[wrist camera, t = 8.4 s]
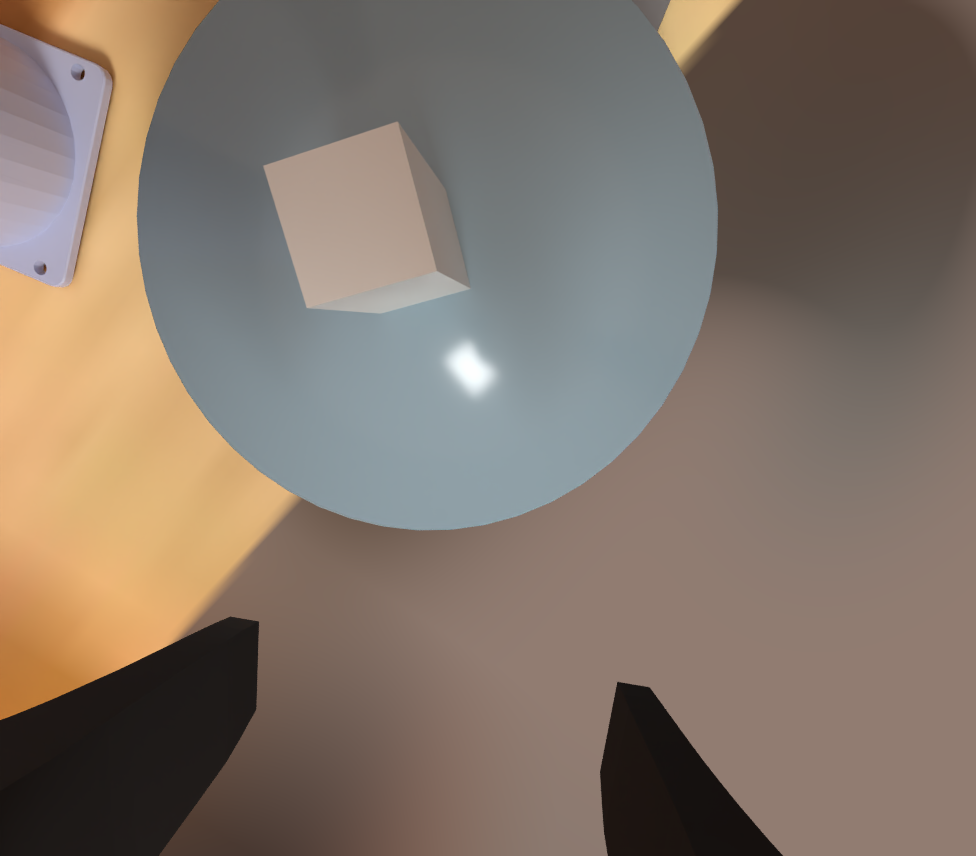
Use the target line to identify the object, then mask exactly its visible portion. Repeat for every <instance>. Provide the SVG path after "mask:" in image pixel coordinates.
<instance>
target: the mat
mask: <svg viewBox="0 0 976 856" xmlns="http://www.w3.org/2000/svg"><path fill="white" fill-rule="evenodd" d="M632 1H633V2H634V3H635V4H636V5H637V6H638V7H639V9H640V10H641V11H642V13H643V14H644V15H645V17H646V18H647V19H648V21H649V22H650V23H651V24H652V26H653V27H654V28H655V30H656V31H658V29H659V26H660V24H661V22H662V19H663V17H664V14H665V12H666V9H667V7H668V5H669V2H670V0H632Z"/></svg>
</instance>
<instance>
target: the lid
mask: <svg viewBox="0 0 976 856" xmlns="http://www.w3.org/2000/svg"><path fill="white" fill-rule="evenodd" d="M717 222H718V206H717V196H716V187H715V178H714V168H713V162H712V158H711V154H710V150H709V146H708V142H707V138H706V133H705V130H704V125H703V122H702V119H701V117H700V114H699V111H698V109H697V106H696V104H695V101H694V98H693V96H692V93H691V91H690V88H689V86H688V83H687V81H686V79H685V77H684V75H683V74H682V72H681V70H680V68H679V66H678V65H677V63H676V61H675V59H674V57H673V56H672V54H671V52H670V50H669V48H668V47H667V45H666V43H665V42H664V40H663V39H662V38H661V36H660V35H659V34H658V32H657V31H656V30H655V28H654V27H653V26H652V24H651V23H650V22H649V21H648V19H647V18H646V17H645V15H644V14H643V13H642V11H641V10H640V9H639V7H638V6H637V5H636V4H635V3H634V2H633V1H632V0H219V1H218V3H217V4H216V5H215V6H214V7H213V9H212V10H211V11H210V12H209V13H208V15H207V16H206V17H205V18H204V20H203V21H202V22H201V23H200V24H199V26H198V27H197V28H196V30H195V31H194V33H193V34H192V36H191V38H190V39H189V41H188V42H187V44H186V46H185V47H184V49H183V51H182V52H181V54H180V55H179V57H178V59H177V60H176V62H175V64H174V66H173V68H172V70H171V72H170V75H169V77H168V79H167V81H166V83H165V86H164V88H163V90H162V92H161V94H160V97H159V99H158V102H157V105H156V108H155V112H154V115H153V118H152V121H151V124H150V128H149V131H148V134H147V137H146V142H145V148H144V154H143V159H142V165H141V170H140V176H139V190H138V207H137V225H138V243H139V256H140V262H141V268H142V274H143V279H144V285H145V291H146V295H147V298H148V301H149V305H150V308H151V312H152V315H153V318H154V322H155V325H156V328H157V331H158V333H159V336H160V338H161V340H162V343H163V345H164V347H165V350H166V352H167V355H168V357H169V359H170V362H171V363H172V365H173V367H174V369H175V371H176V372H177V374H178V376H179V378H180V379H181V381H182V383H183V385H184V387H185V388H186V390H187V392H188V394H189V395H190V396H191V398H192V399H193V401H194V402H195V403H196V405H197V406H198V407H199V409H200V410H201V412H202V413H203V414H204V416H205V417H206V419H207V420H208V421H209V423H210V424H211V425H212V426H213V427H214V428H215V429H216V430H217V431H218V432H219V434H220V435H221V436H222V437H223V438H224V439H225V440H226V441H227V442H228V443H229V444H230V446H231V447H232V448H233V449H234V450H235V451H237V452H238V453H239V454H240V455H241V456H242V457H244V458H245V459H246V460H247V461H248V462H249V463H250V464H252V465H253V466H254V467H255V468H256V469H257V470H259V471H260V472H261V473H263V474H264V475H266V476H267V477H269V478H270V479H272V480H273V481H274V482H276V483H277V484H279V485H280V486H282V487H283V488H285V489H286V490H288V491H289V492H291V493H293V494H295V495H297V496H299V497H301V498H303V499H305V500H307V501H309V502H311V503H313V504H315V505H317V506H318V507H321V508H324V509H327V510H329V511H332V512H335V513H337V514H340V515H343V516H345V517H348V518H351V519H355V520H359V521H363V522H367V523H372V524H376V525H380V526H385V527H395V528H403V529H412V530H452V529H459V528H466V527H473V526H480V525H486V524H490V523H493V522H497V521H501V520H505V519H508V518H512V517H515V516H519V515H521V514H524V513H526V512H528V511H531V510H533V509H536V508H538V507H541V506H543V505H545V504H548V503H550V502H552V501H554V500H556V499H557V498H559V497H561V496H563V495H564V494H566V493H568V492H570V491H571V490H573V489H575V488H576V487H578V486H580V485H582V484H583V483H584V482H586V481H587V480H588V479H590V478H591V477H592V476H594V475H595V474H596V473H598V472H599V471H600V470H601V469H603V468H604V467H605V466H607V465H608V464H609V463H611V462H612V461H613V460H614V459H615V458H616V457H617V456H618V455H619V454H620V453H621V452H622V451H623V450H624V449H625V448H626V447H627V446H628V445H629V444H630V443H631V442H632V441H633V440H634V439H635V438H636V437H637V436H638V435H639V434H640V433H641V432H642V430H643V429H644V428H645V426H646V425H647V424H648V423H649V421H650V420H651V419H652V417H653V416H654V415H655V414H656V412H657V411H658V410H659V408H660V407H661V406H662V405H663V403H664V401H665V399H666V398H667V396H668V395H669V393H670V391H671V390H672V388H673V386H674V384H675V383H676V381H677V379H678V378H679V376H680V374H681V373H682V371H683V369H684V366H685V364H686V362H687V360H688V357H689V355H690V353H691V350H692V348H693V346H694V343H695V341H696V339H697V336H698V334H699V330H700V328H701V324H702V321H703V317H704V314H705V310H706V307H707V303H708V300H709V296H710V292H711V286H712V280H713V272H714V267H715V260H716V254H717Z"/></svg>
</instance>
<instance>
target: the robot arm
mask: <svg viewBox="0 0 976 856" xmlns="http://www.w3.org/2000/svg"><path fill="white" fill-rule="evenodd" d="M83 70H85V76H84V78H83V79H82V80H81V73H82V71H83ZM111 91H112V78H111V75H110V74H109V72H108V71H107V70H106V69H104V68H103V67H101V66H99V65H98V64H96V63H94V62H91V61H89V60H86V59H84V58H82V57H79V56H77V55H74V54H72V53H69V52H67V51H65V50H62V49H60V48H57V47H55V46H52V45H50V44H48V43H45V42H43V41H40V40H38V39H35V38H33V37H31V36H28V35H26V34H23V33H21V32H18V31H16V30H14V29H11V28H9V27H6V26H4V25H1V24H0V265H2V266H5V267H7V268H10V269H12V270H14V271H17V272H19V273H22V274H24V275H26V276H29V277H31V278H34V279H36V280H38V281H41V282H43V283H45V284H48V285H50V286H54V287H66V286H68V285H69V284H70V283H71V281H72V279H73V275H74V270H75V265H76V260H77V255H78V250H79V246H80V241H81V236H82V231H83V226H84V221H85V217H86V212H87V207H88V202H89V197H90V193H91V188H92V183H93V178H94V173H95V168H96V164H97V159H98V154H99V149H100V144H101V139H102V135H103V130H104V125H105V120H106V115H107V111H108V106H109V101H110V96H111ZM44 264H45V265H46V267H47V271H46V273H45V271H44ZM258 634H259V622H258V621H252V620H247V619H241V618H235V617H229V618H226V619H224V620H221V621H219V622H217V623H214V624H213V625H210V626H208V627H206V628H204V629H202V630H200V631H198V632H195V633H193V634H191V635H189V636H187V637H185V638H183V639H181V640H179V641H177V642H175V643H173V644H171V645H169V646H167V647H165V648H163V649H161V650H159V651H157V652H154V653H152V654H150V655H148V656H146V657H144V658H142V659H140V660H138V661H136V662H134V663H132V664H130V665H128V666H126V667H124V668H121V669H119V670H117V671H115V672H113V673H111V674H108V675H106V676H104V677H102V678H99V679H97V680H95V681H93V682H90V683H88V684H86V685H84V686H81V687H79V688H77V689H75V690H73V691H70V692H68V693H66V694H64V695H61V696H59V697H57V698H55V699H52V700H50V701H48V702H45V703H43V704H40V705H38V706H36V707H33V708H31V709H28V710H26V711H23V712H21V713H18V714H16V715H13V716H10V717H8V718H5V719H2V720H0V856H159V854H160V853H161V852H162V850H163V849H164V847H165V846H166V845H167V843H168V842H169V841H170V839H171V838H172V837H173V835H174V834H175V832H176V831H177V830H178V828H179V827H180V826H181V824H182V823H183V822H184V820H185V819H186V817H187V816H188V814H189V813H190V812H191V811H192V809H193V808H194V806H195V805H196V804H197V802H198V801H199V800H200V798H201V797H202V795H203V794H204V793H205V791H206V790H207V788H208V787H209V786H210V784H211V783H212V781H213V780H214V779H215V777H216V776H217V774H218V773H219V771H220V770H221V769H222V767H223V766H224V764H225V763H226V762H227V760H228V758H229V756H230V755H231V753H232V751H233V750H234V748H235V746H236V745H237V743H238V741H239V740H240V738H241V736H242V734H243V732H244V731H245V729H246V727H247V725H248V723H249V721H250V719H251V718H252V716H253V714H254V712H255V711H256V698H257V667H258V665H257V664H258ZM600 778H601V794H602V810H603V824H604V835H605V840H606V847H607V853H608V856H783V855H782V854H781V853H780V852H779V851H778V850H777V849H776V848H775V847H774V845H773V844H772V843H771V842H770V841H769V840H768V839H767V837H766V836H765V835H764V834H763V833H762V832H761V831H760V829H759V828H758V827H757V826H756V825H755V824H754V822H753V821H752V820H751V819H750V818H749V816H748V815H747V814H746V813H745V812H744V811H743V810H742V808H741V807H740V806H739V805H738V804H737V802H736V801H735V800H734V799H733V797H732V796H731V795H730V794H729V793H728V791H727V790H726V789H725V788H724V787H723V785H722V784H721V783H720V782H719V780H718V779H717V778H716V776H715V775H714V774H713V772H712V771H711V770H710V769H709V767H708V766H707V765H706V764H705V762H704V761H703V760H702V758H701V757H700V756H699V754H698V753H697V752H696V750H695V749H694V748H693V746H692V745H691V744H690V742H689V741H688V739H687V738H686V737H685V735H684V734H683V733H682V731H681V730H680V729H679V727H678V726H677V724H676V723H675V722H674V720H673V719H672V717H671V716H670V715H669V714H668V712H667V711H666V709H665V708H664V706H663V705H662V704H661V702H660V701H659V700H658V698H657V697H656V695H655V694H654V693H653V691H652V690H651V689H650V688H649V687H644V686H638V685H632V684H627V683H621V682H617V687H616V692H615V697H614V702H613V708H612V713H611V718H610V724H609V728H608V734H607V739H606V744H605V749H604V754H603V759H602V765H601V770H600Z"/></svg>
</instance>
